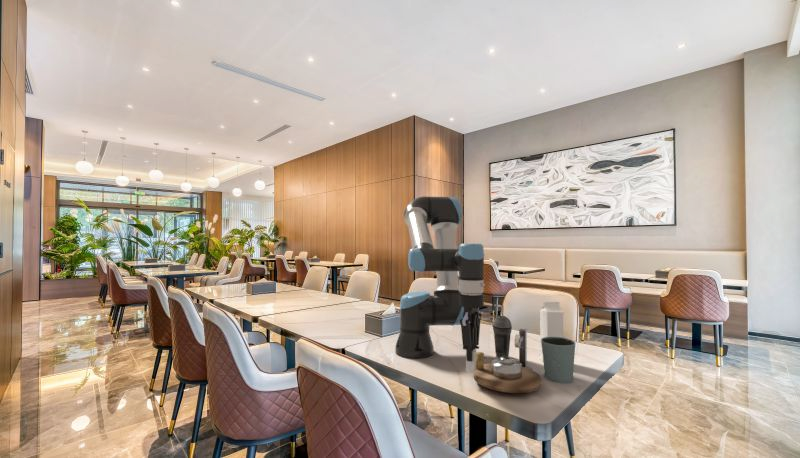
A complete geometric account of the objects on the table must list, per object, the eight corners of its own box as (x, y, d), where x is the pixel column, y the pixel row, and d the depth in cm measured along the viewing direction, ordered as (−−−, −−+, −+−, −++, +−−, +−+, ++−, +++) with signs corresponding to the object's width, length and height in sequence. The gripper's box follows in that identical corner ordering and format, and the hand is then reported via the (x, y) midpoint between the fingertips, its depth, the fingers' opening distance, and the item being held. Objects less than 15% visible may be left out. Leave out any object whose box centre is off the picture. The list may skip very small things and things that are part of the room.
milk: (540, 359, 132) (539, 300, 133) (555, 359, 132) (555, 300, 133) (547, 365, 126) (547, 303, 127) (564, 365, 126) (563, 303, 127)
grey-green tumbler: (580, 378, 114) (580, 341, 114) (568, 387, 107) (567, 347, 108) (549, 370, 121) (549, 334, 122) (535, 377, 115) (535, 340, 115)
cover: (487, 376, 107) (487, 359, 108) (496, 367, 115) (496, 351, 115) (518, 382, 103) (518, 364, 103) (524, 372, 110) (524, 356, 111)
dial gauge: (508, 379, 113) (508, 335, 113) (517, 367, 123) (517, 327, 124) (524, 382, 110) (524, 337, 111) (532, 370, 121) (532, 329, 121)
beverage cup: (509, 354, 138) (510, 302, 138) (514, 360, 131) (514, 306, 131) (490, 353, 139) (491, 302, 139) (493, 359, 131) (494, 305, 132)
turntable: (464, 383, 106) (464, 361, 106) (484, 363, 123) (484, 344, 123) (534, 399, 95) (534, 374, 96) (546, 375, 112) (546, 354, 113)
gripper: (475, 297, 101) (475, 380, 101) (489, 291, 113) (489, 366, 112) (451, 295, 105) (451, 375, 105) (467, 289, 116) (466, 362, 116)
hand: (470, 370), depth 108 cm, fingers closed
